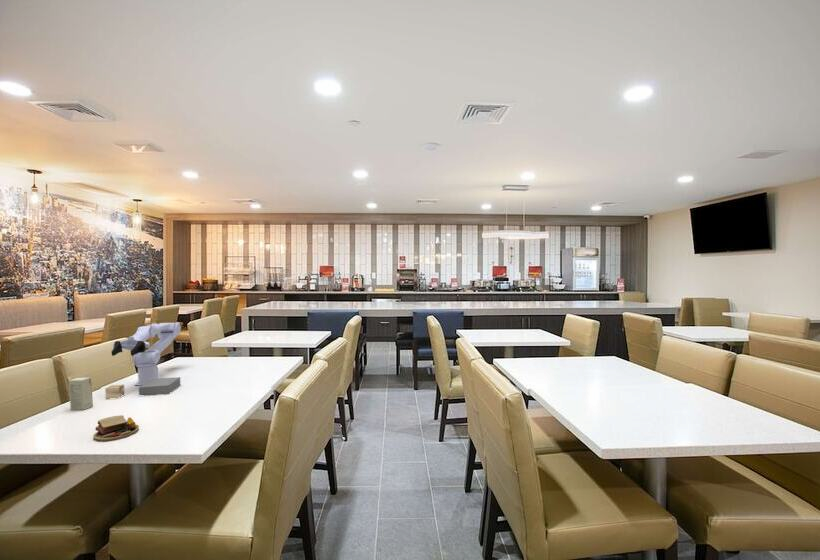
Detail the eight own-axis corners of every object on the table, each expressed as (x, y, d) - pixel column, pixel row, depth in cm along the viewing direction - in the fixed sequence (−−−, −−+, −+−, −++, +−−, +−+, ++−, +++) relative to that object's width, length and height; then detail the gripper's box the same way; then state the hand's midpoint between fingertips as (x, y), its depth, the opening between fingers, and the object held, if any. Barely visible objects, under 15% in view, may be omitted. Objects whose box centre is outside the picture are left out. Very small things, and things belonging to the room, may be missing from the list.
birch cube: (112, 396, 177) (111, 385, 177) (124, 395, 178) (124, 384, 178) (105, 399, 172) (105, 388, 172) (118, 398, 173) (118, 387, 173)
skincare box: (93, 406, 163) (92, 377, 163) (83, 410, 159) (82, 380, 158) (79, 406, 164) (78, 377, 163) (69, 410, 159) (68, 380, 159)
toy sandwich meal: (95, 446, 126) (94, 431, 126) (91, 433, 136) (90, 420, 136) (142, 434, 134) (141, 420, 134) (135, 423, 144) (134, 410, 144)
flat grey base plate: (153, 387, 190) (153, 378, 190) (180, 385, 192) (180, 377, 192) (139, 396, 176) (138, 387, 176) (168, 394, 178) (168, 385, 178)
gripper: (119, 332, 186) (102, 345, 173) (153, 332, 188) (138, 345, 176) (121, 345, 188) (105, 359, 175) (154, 345, 190) (140, 359, 178)
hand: (122, 353), depth 176 cm, fingers open, 7 cm apart
